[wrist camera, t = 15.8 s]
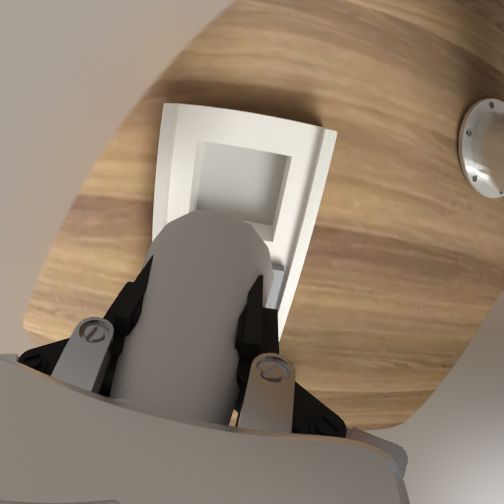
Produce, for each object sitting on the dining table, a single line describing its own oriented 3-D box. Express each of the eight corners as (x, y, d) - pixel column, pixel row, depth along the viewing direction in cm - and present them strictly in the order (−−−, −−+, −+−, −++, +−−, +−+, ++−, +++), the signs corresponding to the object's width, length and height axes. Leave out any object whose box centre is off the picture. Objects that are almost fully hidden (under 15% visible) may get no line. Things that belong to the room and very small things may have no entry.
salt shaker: (143, 236, 16) (-2, 450, 4) (225, 171, 14) (81, 451, 2) (211, 310, 18) (160, 534, 6) (294, 261, 16) (323, 533, 4)
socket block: (183, 103, 27) (163, 102, 21) (323, 127, 27) (337, 131, 22) (167, 288, 37) (152, 319, 31) (277, 307, 37) (278, 342, 32)
